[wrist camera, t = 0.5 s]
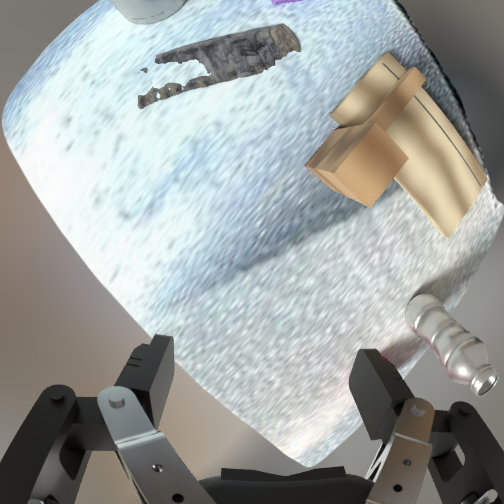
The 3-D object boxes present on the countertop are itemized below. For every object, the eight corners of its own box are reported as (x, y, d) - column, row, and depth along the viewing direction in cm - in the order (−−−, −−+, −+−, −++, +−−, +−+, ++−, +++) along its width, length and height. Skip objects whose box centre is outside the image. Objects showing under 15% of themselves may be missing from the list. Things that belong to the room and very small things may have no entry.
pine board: (440, 233, 38) (448, 238, 36) (328, 114, 33) (334, 112, 30) (478, 177, 35) (487, 179, 33) (380, 55, 30) (387, 51, 28)
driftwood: (292, 25, 29) (294, 18, 27) (305, 70, 31) (309, 65, 29) (133, 64, 30) (127, 60, 28) (143, 110, 32) (137, 108, 30)
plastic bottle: (425, 280, 41) (505, 353, 22) (437, 307, 42) (507, 379, 23) (394, 306, 42) (464, 392, 23) (409, 331, 44) (470, 412, 25)
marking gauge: (331, 189, 36) (370, 207, 24) (304, 165, 35) (333, 173, 23) (408, 93, 31) (464, 80, 20) (385, 69, 30) (436, 46, 19)
